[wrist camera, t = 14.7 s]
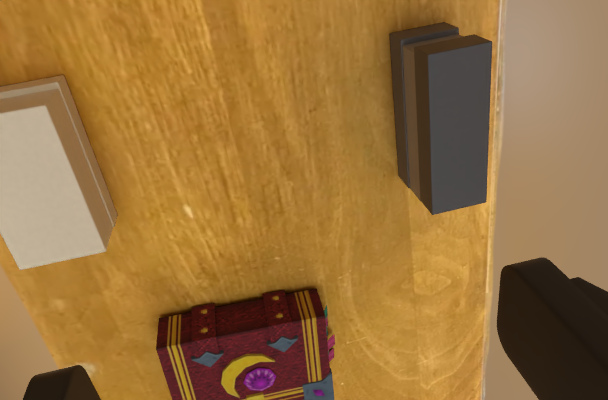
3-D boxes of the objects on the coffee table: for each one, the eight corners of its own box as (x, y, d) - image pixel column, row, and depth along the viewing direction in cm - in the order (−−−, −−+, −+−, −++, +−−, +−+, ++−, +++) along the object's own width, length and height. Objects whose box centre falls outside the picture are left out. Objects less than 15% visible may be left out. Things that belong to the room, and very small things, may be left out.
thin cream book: (-45, 113, 31) (-59, 124, 29) (53, 94, 32) (45, 104, 30) (27, 254, 37) (19, 270, 35) (110, 236, 37) (106, 251, 36)
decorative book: (156, 312, 46) (152, 352, 41) (328, 280, 48) (341, 315, 43) (182, 395, 51) (180, 438, 47) (334, 363, 53) (346, 402, 49)
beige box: (-26, 91, 34) (-48, 107, 31) (63, 74, 35) (50, 89, 32) (42, 231, 40) (29, 257, 37) (117, 215, 40) (111, 239, 37)
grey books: (389, 33, 37) (427, 54, 31) (444, 21, 38) (493, 41, 32) (398, 175, 44) (431, 217, 37) (446, 164, 44) (487, 204, 38)
